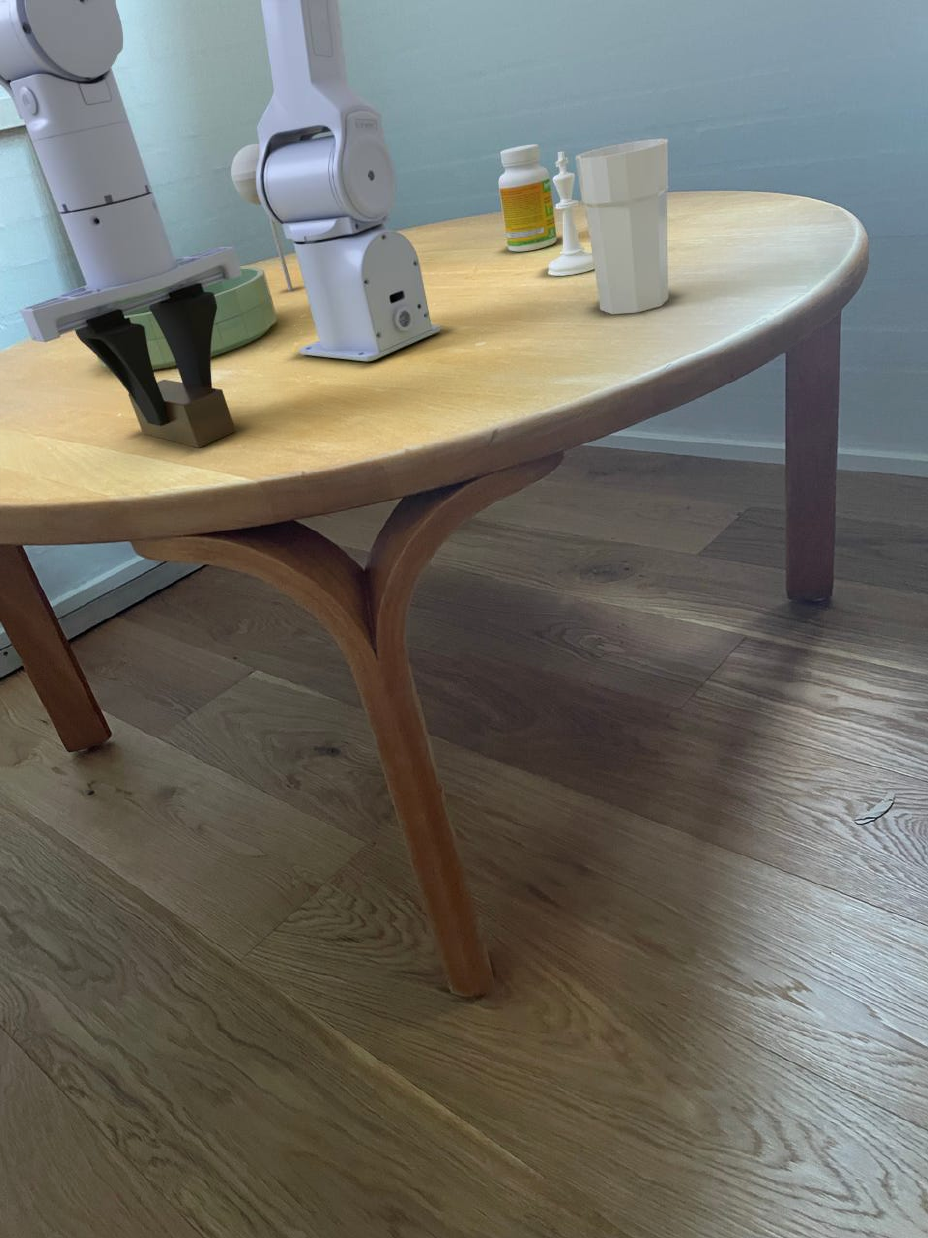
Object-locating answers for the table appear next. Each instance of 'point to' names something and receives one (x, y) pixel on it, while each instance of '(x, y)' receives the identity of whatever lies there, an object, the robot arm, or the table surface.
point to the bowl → (217, 316)
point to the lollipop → (253, 188)
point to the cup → (627, 222)
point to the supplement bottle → (526, 200)
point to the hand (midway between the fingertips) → (181, 413)
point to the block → (190, 414)
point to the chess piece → (568, 227)
